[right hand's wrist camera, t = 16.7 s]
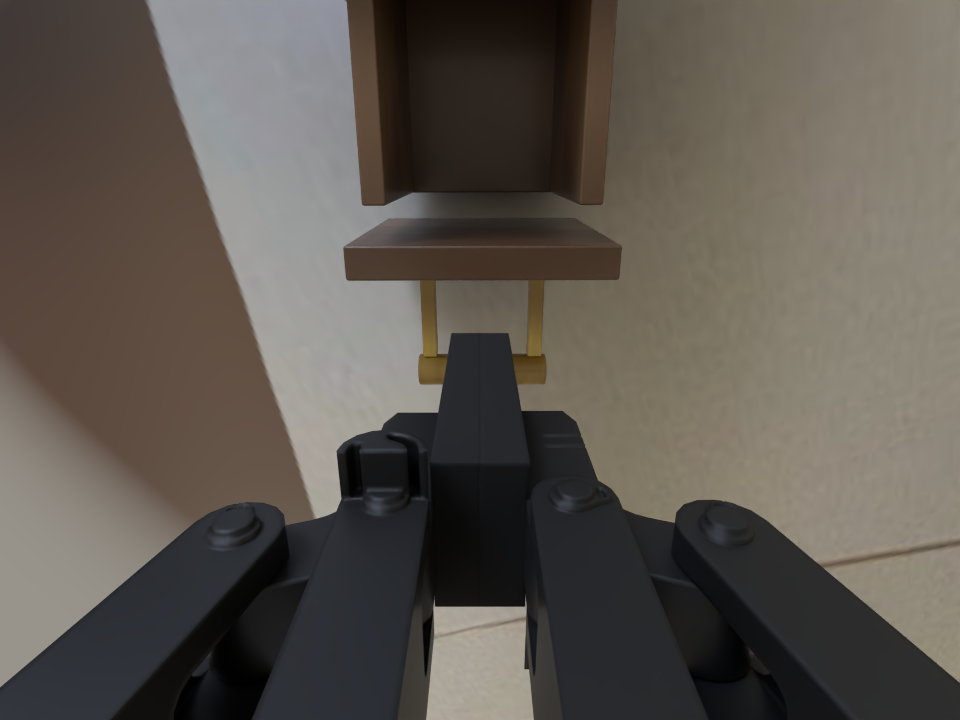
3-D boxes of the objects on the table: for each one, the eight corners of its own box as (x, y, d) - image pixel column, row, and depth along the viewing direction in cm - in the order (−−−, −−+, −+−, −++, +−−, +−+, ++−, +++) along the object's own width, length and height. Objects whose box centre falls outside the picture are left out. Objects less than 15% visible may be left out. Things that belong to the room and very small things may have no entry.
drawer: (568, 341, 30) (607, 419, 21) (395, 341, 30) (358, 420, 21) (600, -232, 22) (688, -515, 12) (361, -231, 22) (275, -515, 12)
